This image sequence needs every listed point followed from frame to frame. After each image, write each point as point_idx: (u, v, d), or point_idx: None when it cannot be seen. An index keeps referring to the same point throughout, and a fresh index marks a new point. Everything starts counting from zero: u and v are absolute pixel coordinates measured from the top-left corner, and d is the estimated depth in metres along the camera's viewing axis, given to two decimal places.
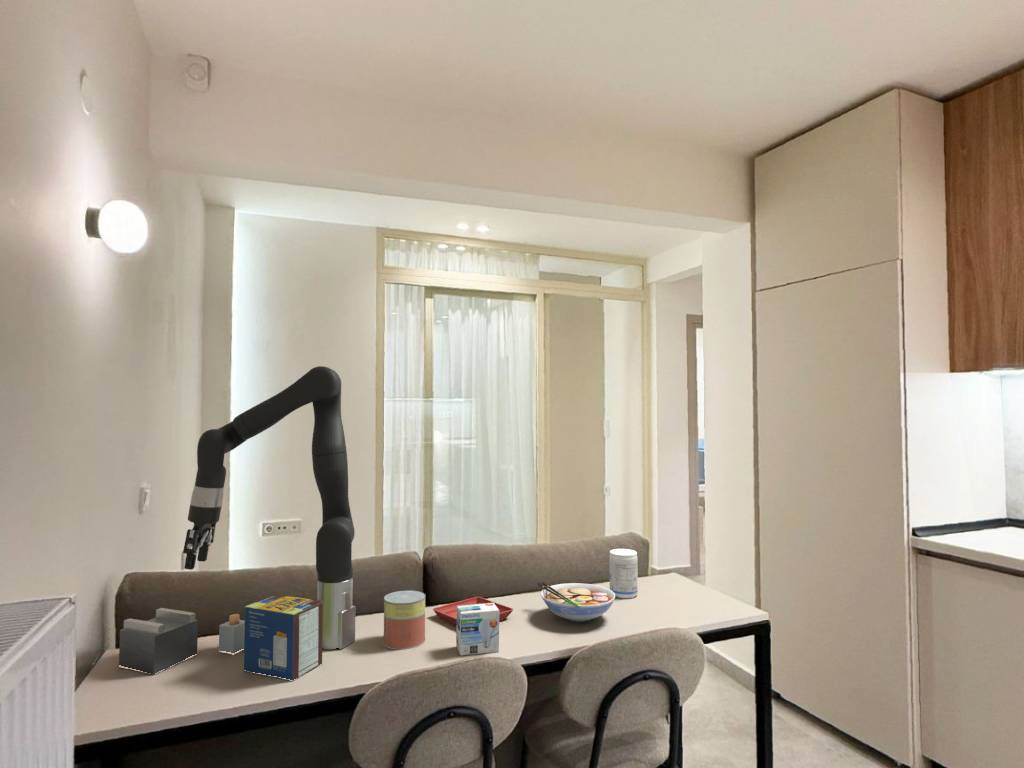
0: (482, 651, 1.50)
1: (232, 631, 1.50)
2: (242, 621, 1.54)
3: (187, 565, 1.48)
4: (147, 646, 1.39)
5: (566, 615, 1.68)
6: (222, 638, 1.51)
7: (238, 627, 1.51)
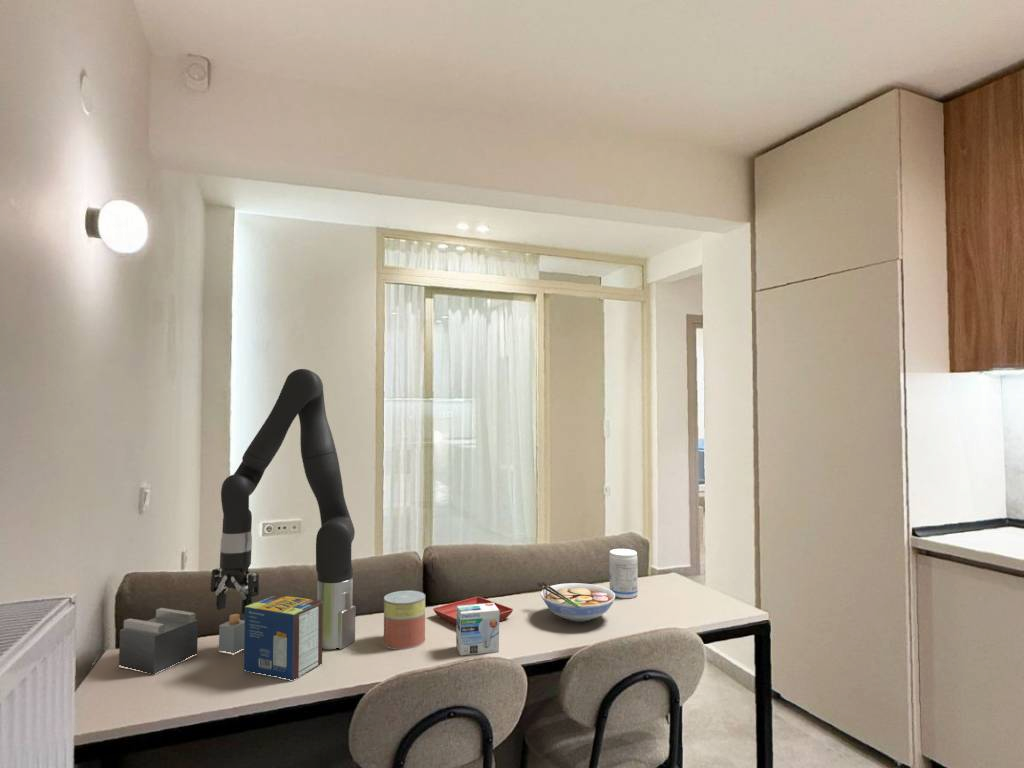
0: (482, 651, 1.50)
1: (232, 631, 1.50)
2: (242, 621, 1.54)
3: None
4: (147, 646, 1.39)
5: (566, 615, 1.68)
6: (222, 638, 1.51)
7: (238, 627, 1.51)
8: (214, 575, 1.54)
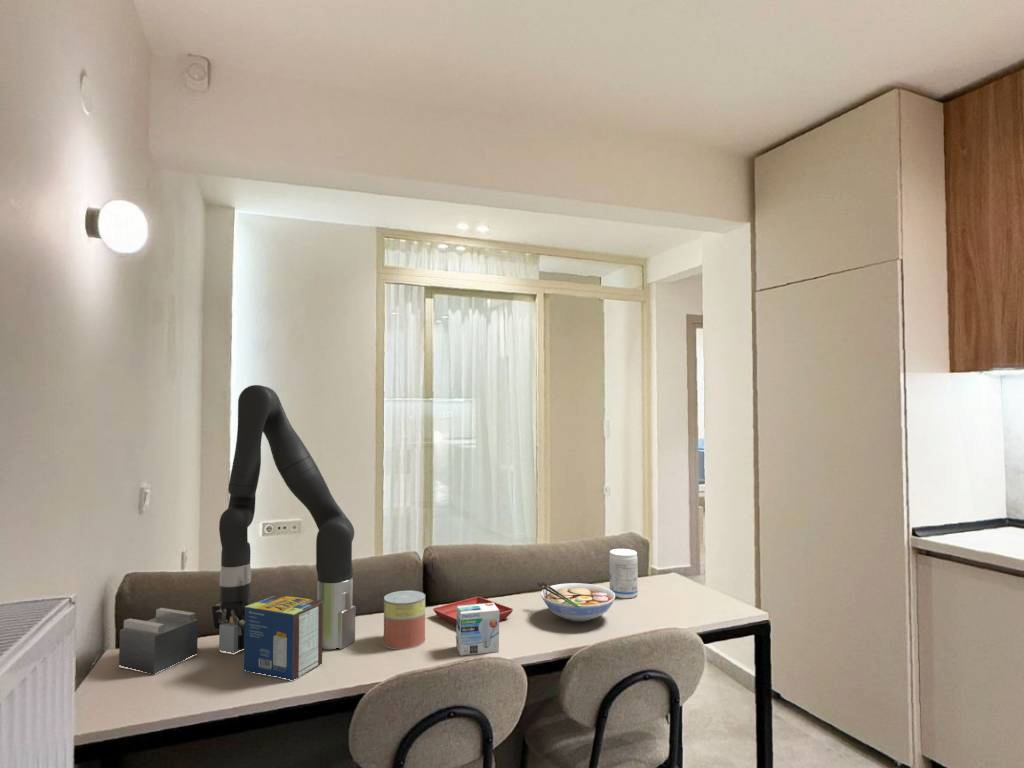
0: (482, 651, 1.50)
1: (232, 630, 1.50)
2: None
3: None
4: (147, 646, 1.39)
5: (566, 615, 1.68)
6: (222, 637, 1.51)
7: None
8: (215, 611, 1.54)
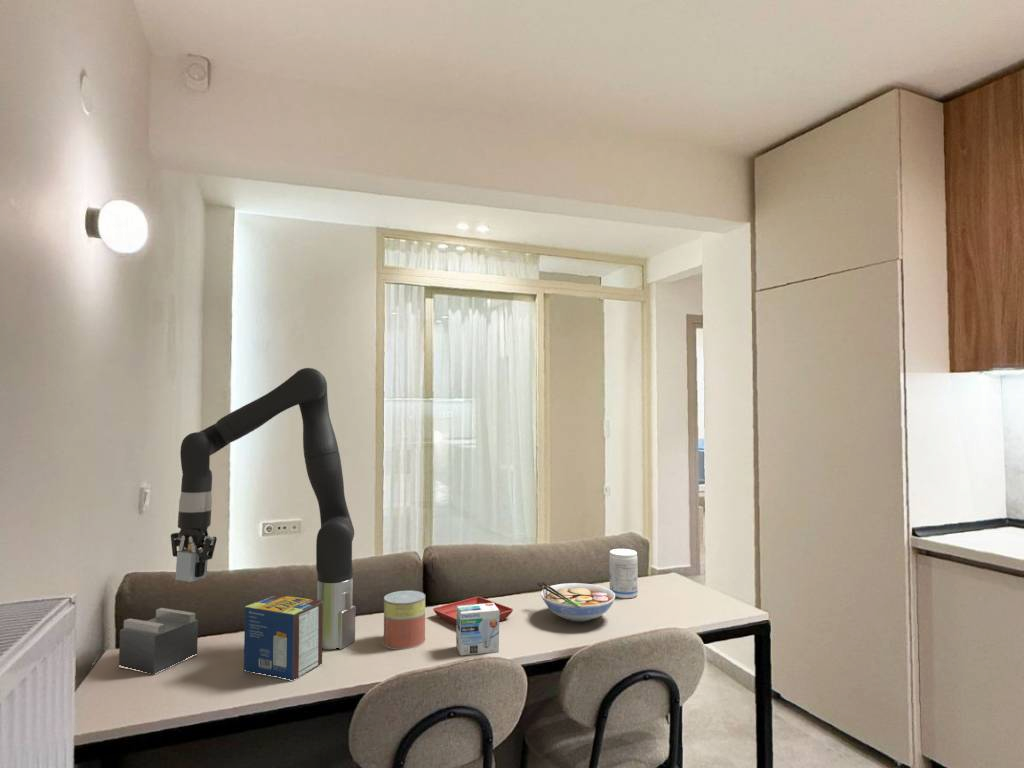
0: (482, 651, 1.50)
1: (189, 557, 1.47)
2: None
3: (201, 572, 1.48)
4: (147, 646, 1.39)
5: (566, 615, 1.68)
6: (179, 564, 1.48)
7: (195, 554, 1.48)
8: (173, 539, 1.51)
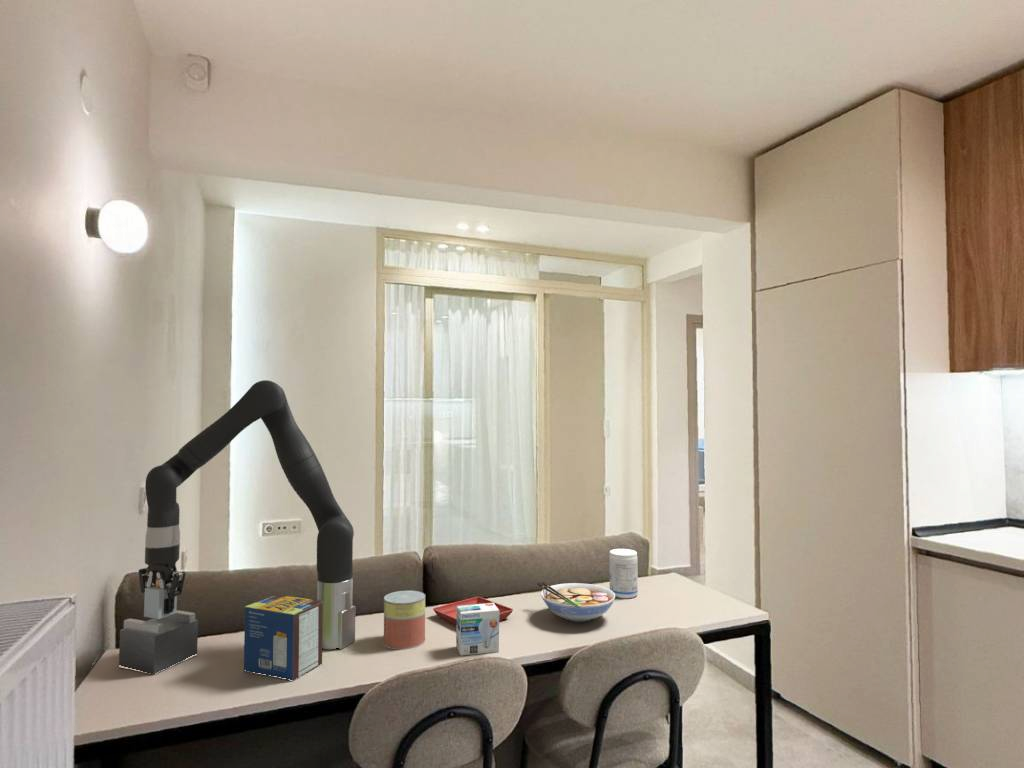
0: (482, 651, 1.50)
1: (157, 593, 1.43)
2: None
3: (170, 609, 1.45)
4: (147, 646, 1.39)
5: (566, 615, 1.68)
6: (148, 601, 1.44)
7: None
8: (141, 575, 1.48)
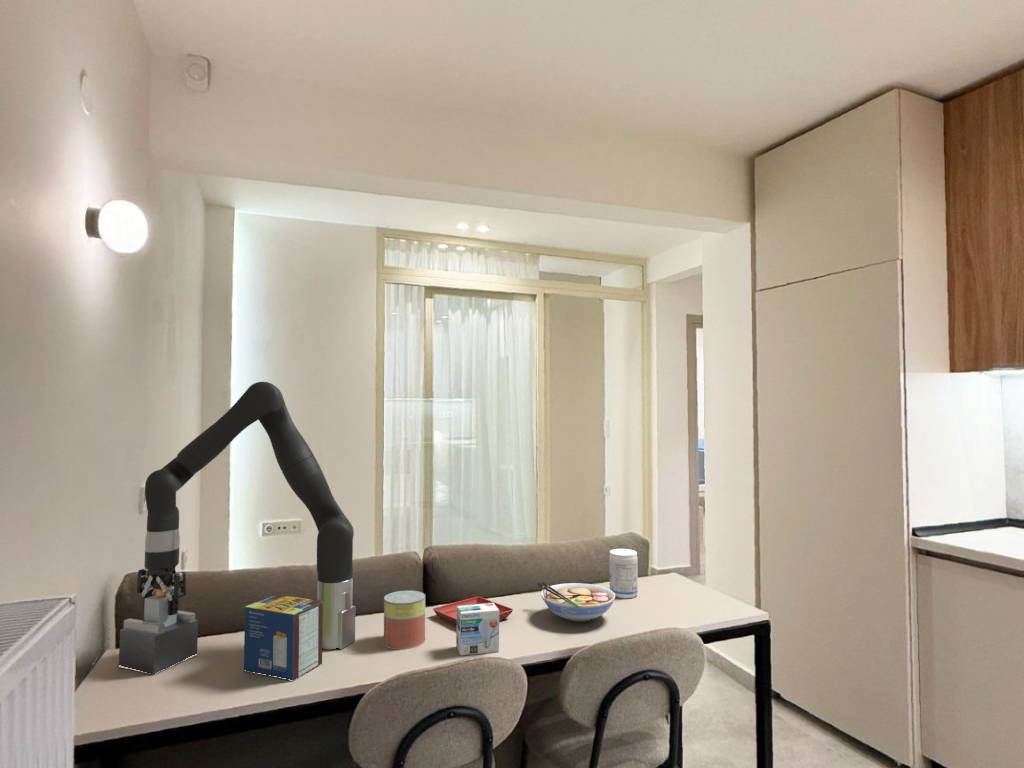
0: (482, 651, 1.50)
1: (157, 604, 1.43)
2: None
3: (174, 610, 1.44)
4: (147, 646, 1.39)
5: (566, 615, 1.68)
6: (148, 611, 1.44)
7: (164, 600, 1.44)
8: (140, 576, 1.48)
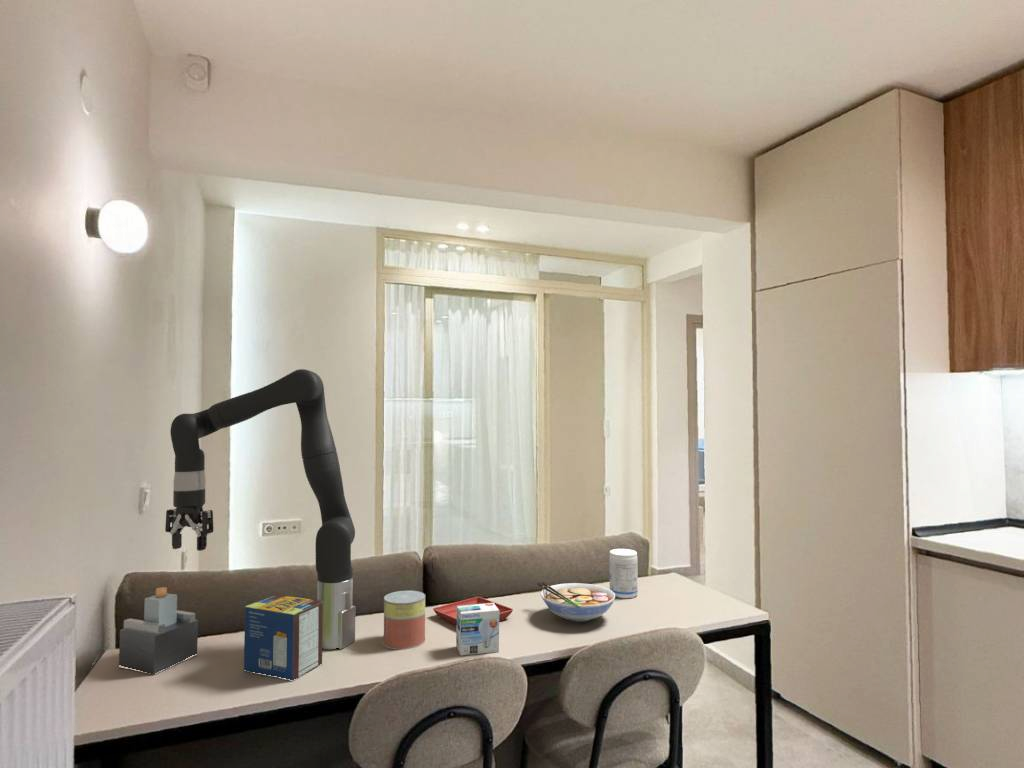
0: (482, 651, 1.50)
1: (157, 604, 1.43)
2: (170, 594, 1.48)
3: (203, 546, 1.52)
4: (147, 646, 1.39)
5: (566, 615, 1.68)
6: (148, 611, 1.44)
7: (164, 600, 1.44)
8: (168, 515, 1.56)
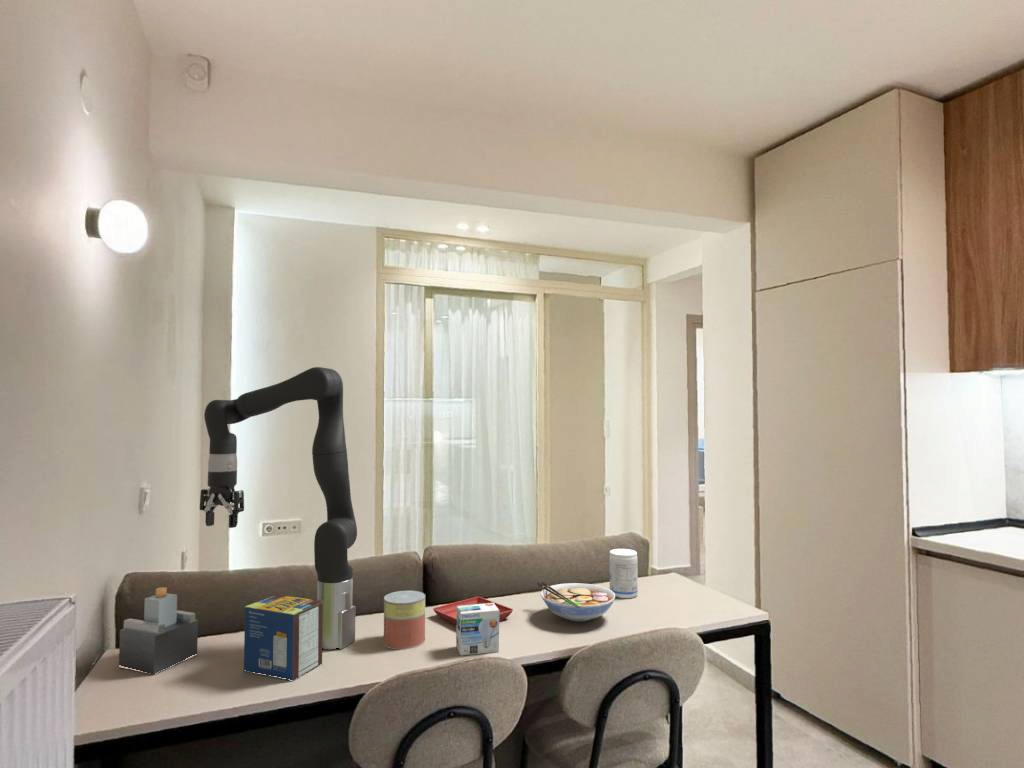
0: (482, 651, 1.50)
1: (157, 604, 1.43)
2: (170, 594, 1.48)
3: (234, 523, 1.63)
4: (147, 646, 1.39)
5: (566, 615, 1.68)
6: (148, 611, 1.44)
7: (164, 600, 1.44)
8: (203, 494, 1.67)
